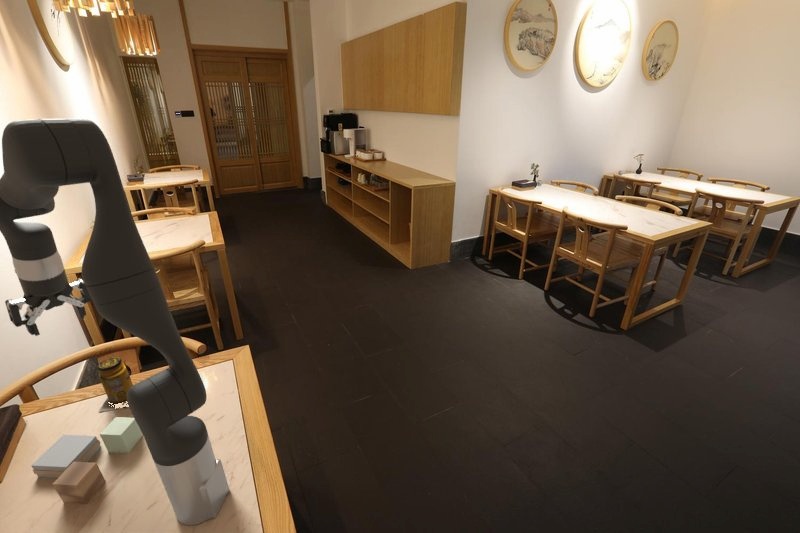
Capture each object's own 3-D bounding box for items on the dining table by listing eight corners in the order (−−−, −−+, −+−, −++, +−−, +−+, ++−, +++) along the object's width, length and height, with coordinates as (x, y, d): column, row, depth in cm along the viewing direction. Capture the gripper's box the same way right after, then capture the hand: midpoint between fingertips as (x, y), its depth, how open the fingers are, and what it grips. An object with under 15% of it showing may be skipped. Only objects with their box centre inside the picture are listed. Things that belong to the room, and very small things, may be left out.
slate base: (102, 447, 88) (97, 435, 86) (73, 479, 81) (66, 467, 79) (69, 445, 88) (63, 434, 87) (37, 478, 81) (29, 466, 79)
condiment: (141, 385, 107) (128, 352, 102) (129, 407, 99) (115, 372, 94) (112, 390, 105) (98, 356, 100) (98, 412, 97) (82, 377, 92)
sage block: (143, 435, 91) (135, 417, 88) (128, 453, 86) (120, 435, 84) (123, 434, 91) (116, 416, 89) (108, 452, 87) (99, 434, 84)
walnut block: (105, 481, 80) (96, 462, 78) (86, 504, 76) (76, 485, 73) (83, 480, 80) (73, 461, 78) (63, 503, 76) (52, 484, 73)
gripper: (3, 290, 73) (27, 348, 81) (88, 266, 84) (102, 319, 92) (-13, 273, 76) (12, 331, 84) (72, 252, 87) (86, 305, 95)
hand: (59, 325), depth 88 cm, fingers open, 8 cm apart
